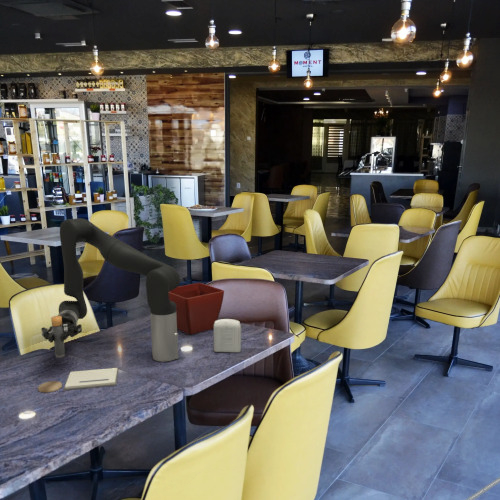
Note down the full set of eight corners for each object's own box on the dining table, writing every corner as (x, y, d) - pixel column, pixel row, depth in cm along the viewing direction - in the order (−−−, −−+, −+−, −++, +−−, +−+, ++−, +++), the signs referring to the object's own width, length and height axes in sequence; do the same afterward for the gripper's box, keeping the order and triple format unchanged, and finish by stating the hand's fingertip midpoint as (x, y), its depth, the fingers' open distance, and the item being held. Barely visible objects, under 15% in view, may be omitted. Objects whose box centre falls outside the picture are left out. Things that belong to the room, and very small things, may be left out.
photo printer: (241, 348, 186) (241, 317, 184) (240, 353, 182) (240, 321, 180) (214, 348, 187) (213, 317, 185) (213, 352, 183) (212, 321, 181)
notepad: (118, 370, 169) (118, 367, 168) (116, 385, 157) (116, 382, 157) (69, 374, 166) (69, 371, 165) (63, 390, 154) (63, 387, 154)
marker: (66, 353, 167) (62, 315, 164) (64, 357, 163) (60, 318, 161) (56, 354, 166) (52, 316, 164) (54, 358, 163) (50, 319, 160)
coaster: (63, 381, 160) (63, 380, 160) (59, 391, 153) (59, 389, 153) (40, 383, 159) (40, 382, 159) (36, 393, 152) (35, 392, 152)
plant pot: (200, 318, 223) (199, 281, 220) (226, 328, 209) (225, 290, 205) (163, 327, 211) (162, 289, 208) (187, 339, 197) (186, 298, 193)
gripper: (44, 314, 175) (32, 330, 159) (85, 311, 178) (78, 326, 161) (46, 334, 177) (35, 352, 160) (86, 330, 179) (80, 348, 163)
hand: (56, 339), depth 161 cm, fingers closed on marker, 3 cm apart
